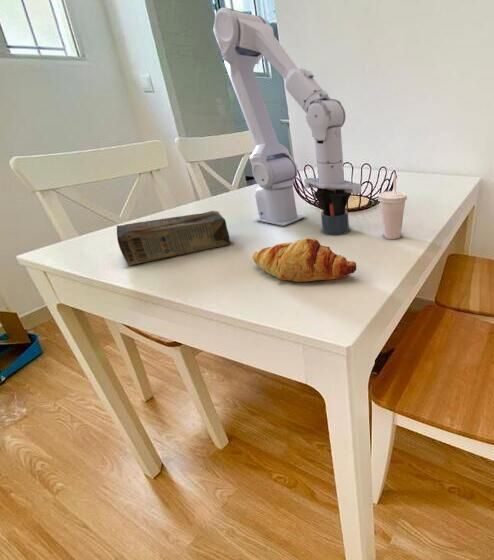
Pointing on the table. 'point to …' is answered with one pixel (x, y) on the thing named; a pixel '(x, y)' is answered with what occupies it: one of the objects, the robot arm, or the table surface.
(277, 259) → the croissant
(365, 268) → the table surface
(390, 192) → the smoothie
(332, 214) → the red rectangular block
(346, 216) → the cup
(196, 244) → the coffee bag
